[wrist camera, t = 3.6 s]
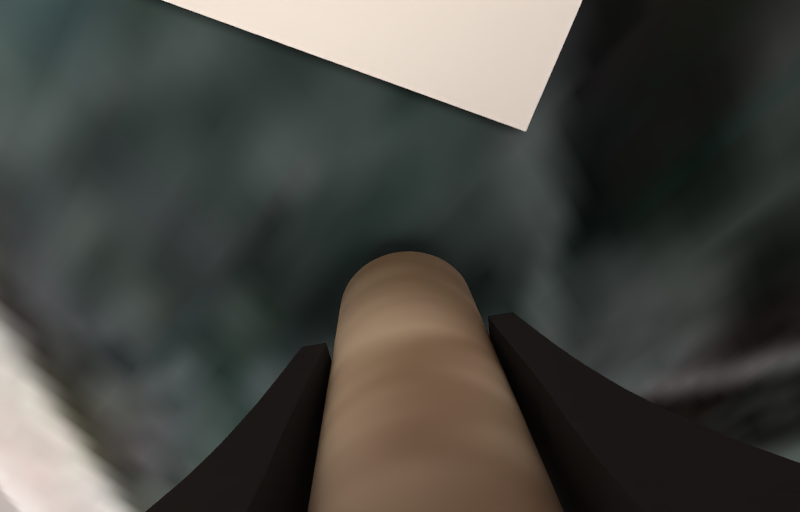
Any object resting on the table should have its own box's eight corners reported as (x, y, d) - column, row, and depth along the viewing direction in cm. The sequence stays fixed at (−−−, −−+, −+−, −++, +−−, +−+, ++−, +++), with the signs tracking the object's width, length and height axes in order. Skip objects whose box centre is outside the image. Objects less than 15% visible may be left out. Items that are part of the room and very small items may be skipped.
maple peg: (493, 272, 12) (659, 559, 5) (444, 378, 14) (519, 720, 7) (362, 234, 12) (336, 501, 4) (325, 349, 13) (259, 693, 6)
